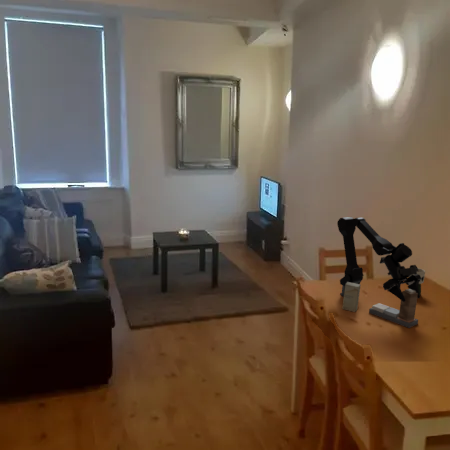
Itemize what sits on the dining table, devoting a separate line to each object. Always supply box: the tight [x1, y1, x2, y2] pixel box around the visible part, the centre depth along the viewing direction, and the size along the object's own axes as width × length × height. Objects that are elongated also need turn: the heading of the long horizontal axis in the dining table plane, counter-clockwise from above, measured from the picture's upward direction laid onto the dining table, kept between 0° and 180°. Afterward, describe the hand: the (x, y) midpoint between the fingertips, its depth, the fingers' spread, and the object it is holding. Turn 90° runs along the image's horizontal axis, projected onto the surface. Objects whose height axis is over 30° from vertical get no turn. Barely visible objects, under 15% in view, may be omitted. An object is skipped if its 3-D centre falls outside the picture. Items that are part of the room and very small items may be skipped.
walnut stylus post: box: [399, 288, 418, 321], centre depth 208 cm, size 4×4×13 cm
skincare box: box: [341, 282, 361, 313], centre depth 221 cm, size 6×4×12 cm
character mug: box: [409, 267, 426, 296], centre depth 245 cm, size 11×7×13 cm, turn 158°
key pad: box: [368, 302, 419, 329], centre depth 214 cm, size 20×7×4 cm, turn 41°
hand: (411, 299), depth 206 cm, fingers open, 9 cm apart
